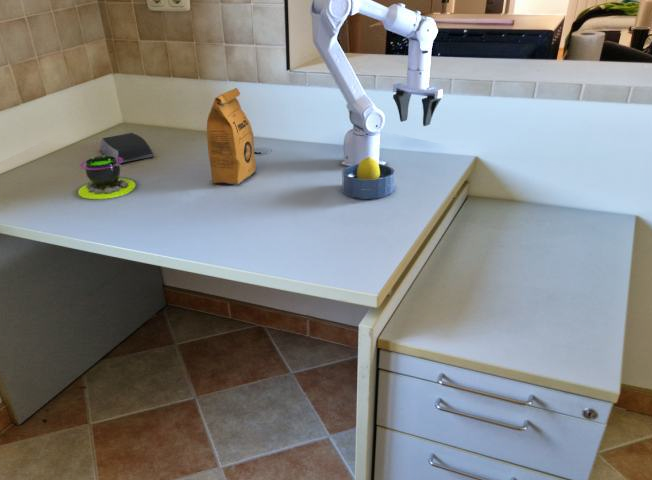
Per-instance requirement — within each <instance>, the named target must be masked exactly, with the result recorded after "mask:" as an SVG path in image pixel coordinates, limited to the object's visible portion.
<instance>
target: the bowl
mask: <svg viewBox="0 0 652 480" xmlns="http://www.w3.org/2000/svg"><path fill="white" fill-rule="evenodd" d="M378 165H379V169H380V177H379V178H378V179H357V169H358V166H359V164H356V165H351V166H346V167H345V168H343V169H342V171H341V190H342V192H343V193H344V195H346V196H348V197H350V198H354V199H358V200H359V199H360V200H374V199H381V198H384V197H386V196H388V195H390V194H391V193H393V191H394V186H395V185H394V183H395V169H394V168H393V167H391V166H389V165H387V164H384V165H383V164H378Z"/></svg>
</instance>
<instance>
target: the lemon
mask: <svg viewBox="0 0 652 480" xmlns="http://www.w3.org/2000/svg"><path fill="white" fill-rule="evenodd" d="M379 177H380V169H379V165H378V163H377V162H376V161H375V160H374V159H372V158H370V157H367V158H366V159H364V160H362V161H361V162H360V163H359V166H358V169H357V179H378V178H379Z"/></svg>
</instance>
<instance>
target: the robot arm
mask: <svg viewBox="0 0 652 480" xmlns="http://www.w3.org/2000/svg"><path fill="white" fill-rule="evenodd" d="M309 12H310V16H311V30H312V31H311V32H312V42H313V44H314V46H315V48H316V49H317V52H318V53H319V55H320V57H321V58H322V60H323V63H324V64H325V66H326V68H327V69H328V71H329V73H330V75H331V76H332V78H333V81H334V82H335V83H336V85H337V88H338V89H339V92H341V95H342V96H343V98H344V100H345V101H346V108H347V111H348V119H349V121H350V123H351V124H352V128H351V129H349V130H347V132H346V133H345V135H344V138H343V161H342V162H341V165H343V166H346V167H349V166H351V165H356V164H359V163H360V162H361V161H362V160H364V159H366V158H367V157H370V158H372V159H374V160H375V161H376V162H377V163H378V164H383V165H387V163H386V161H383V160H380V141H381V139H380V138H381V131H382V130H383V127H384V126H385V122H386V118H385V114H384V112H383V111H382V110H381V109H379V108H377V107H376V105H375V103H374V102H373V101H372V99H371V98H370V97H369V96H368V95H367V93H366V91H365V90H364V88H363V86H362V84H361V83H360V80H359V79H358V77H357V75H356V73H355V71H354V69H353V67H352V65H351V64H350V61H349V60H348V58H347V56H346V54H345V52H344V50H343V48H342V47H341V45H340V43H339V41H338V35H339V32H340V29H341V27H342V26H343V24H344V22H345V21H346V19H347V18H348V16H353V15H356V14H360V15H363V16H366V17H369V18H372V19H374V20H377V21H380V22H382V25H383V28H384V29H385V30H386V31H389V32H392V33H394V34H396V35H398V36H401V37H404V38H407V39H408V52H407V53H408V55H407V70H406V83H403V82H402V83H401V82H397V83H393V84H392V92H393V93H394V94H393V95H392V99H393V100H394V102H395V105H396V107H397V111H398V115H399V121H400V122H402V123H403V122H406V121H407V120H408V117H409V106H410V101H411V97H412V95H416V96H423V97H424V98H421V105H422V112H423V114H422V126H423V127H428V126H429V125H431V121H432V118H433V116H434V114H435V111H436V108H438V105H439V103H440V102H441V100H442V98H443V89H442V88H438V87H435V86H431V85H430V74H431V73H430V72H431V61H432V60H431V59H432V48H433V42H434V40H435V39H436V37H437V34H438V32H439V29H438V28H437V23H436V21H435V19H434V18H432V17H430V16H425V15H421V13H422V12H421V11H419V10H414V11H413V10H412V9H409V8H406V4H404V3H401V2H398V3H393V4H391V5H390V6H385V5H383V4H381V3H379V2H377V1H374V0H311V5H310V7H309Z"/></svg>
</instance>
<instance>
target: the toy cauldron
mask: <svg viewBox="0 0 652 480" xmlns="http://www.w3.org/2000/svg"><path fill="white" fill-rule="evenodd" d="M103 146H104V145H103ZM101 150H102V149H100V148H97V149H92V148H91V151H92V152H95V151H101ZM107 150H108V149H107ZM110 150H111V149H110ZM112 151H113V150H112ZM92 152H91V153H90V154H91V155H93V153H92ZM88 153H89V151H88V152H86V154H88ZM86 154H83V157H84V158H86V160H83V161H81V163H79V164H78V167H81V169H83V170H85V173H86V177H87V178H88V180H89V183H87V184H84V185H82V186H81V187H80V188H79V189H78V191H77V192H78V193H77V194H78V196H79V197H81V198H83V199H87V200H105V199H106V200H107V199H113V198H118V197H121V196H125V195H126V194H129V193H131V192H132V191H133V190H134V189H135V188H136V186H137V185H136V183H135V182H134V180H132V179H129V178H120V175H121V168H123V165H122V163H121V161H123V159H122V158H121V159H120V158H118V156H117V157H116V156H115V157H116V158H117V159H119V161H120V160H121V161H120V162H117V161H116V158H115V157H114V156H105V155H100V156H95V157H93V156H92V157H90V158H88V159H87V156H86ZM113 154H114V153H113ZM84 164H85V166H84Z"/></svg>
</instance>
